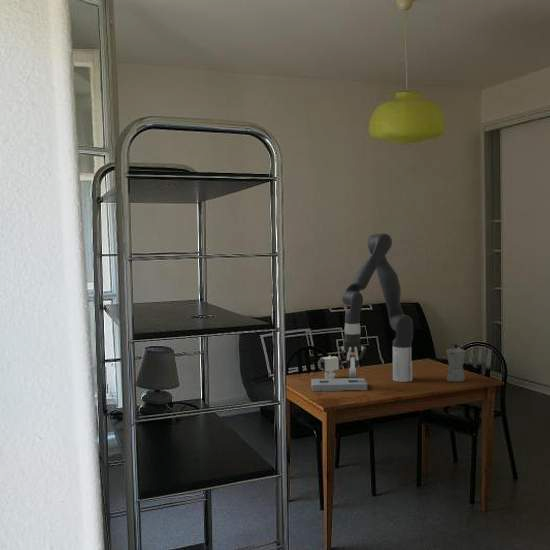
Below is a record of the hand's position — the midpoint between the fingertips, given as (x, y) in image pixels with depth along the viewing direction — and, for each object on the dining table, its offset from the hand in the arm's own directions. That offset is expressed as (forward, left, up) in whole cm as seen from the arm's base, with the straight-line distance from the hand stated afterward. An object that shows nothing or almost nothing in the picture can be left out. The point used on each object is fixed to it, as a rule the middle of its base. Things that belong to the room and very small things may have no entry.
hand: (352, 367), depth 301 cm
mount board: (+7, 0, -10) cm, 12 cm away
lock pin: (0, 0, -5) cm, 5 cm away
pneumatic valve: (+10, -19, -10) cm, 23 cm away
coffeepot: (-53, -12, -10) cm, 55 cm away
